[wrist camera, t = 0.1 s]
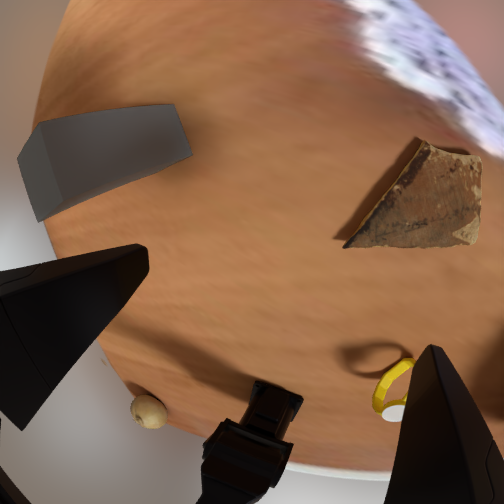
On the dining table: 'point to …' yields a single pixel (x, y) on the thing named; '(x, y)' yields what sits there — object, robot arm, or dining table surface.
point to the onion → (148, 412)
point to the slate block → (98, 154)
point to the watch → (393, 408)
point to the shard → (426, 204)
